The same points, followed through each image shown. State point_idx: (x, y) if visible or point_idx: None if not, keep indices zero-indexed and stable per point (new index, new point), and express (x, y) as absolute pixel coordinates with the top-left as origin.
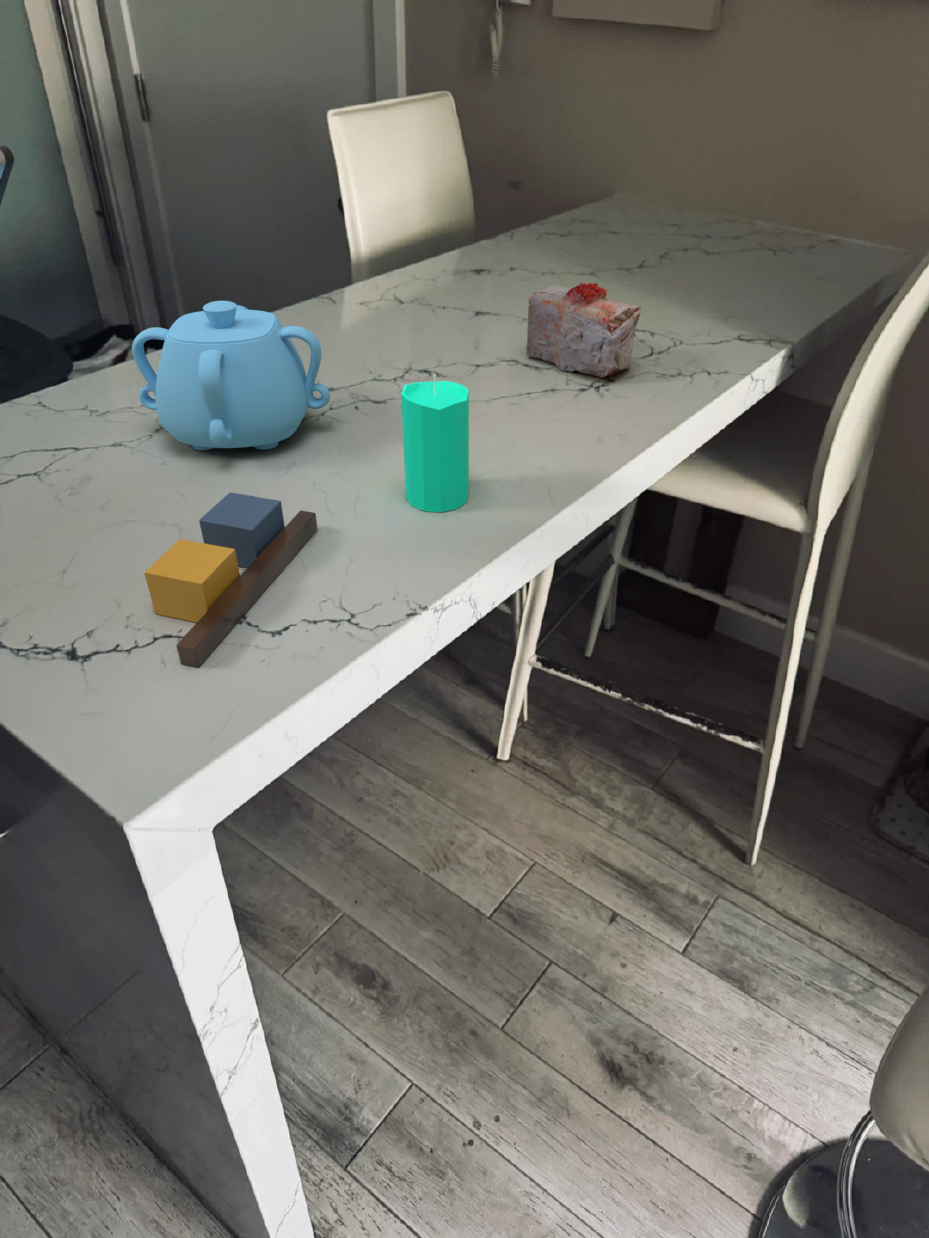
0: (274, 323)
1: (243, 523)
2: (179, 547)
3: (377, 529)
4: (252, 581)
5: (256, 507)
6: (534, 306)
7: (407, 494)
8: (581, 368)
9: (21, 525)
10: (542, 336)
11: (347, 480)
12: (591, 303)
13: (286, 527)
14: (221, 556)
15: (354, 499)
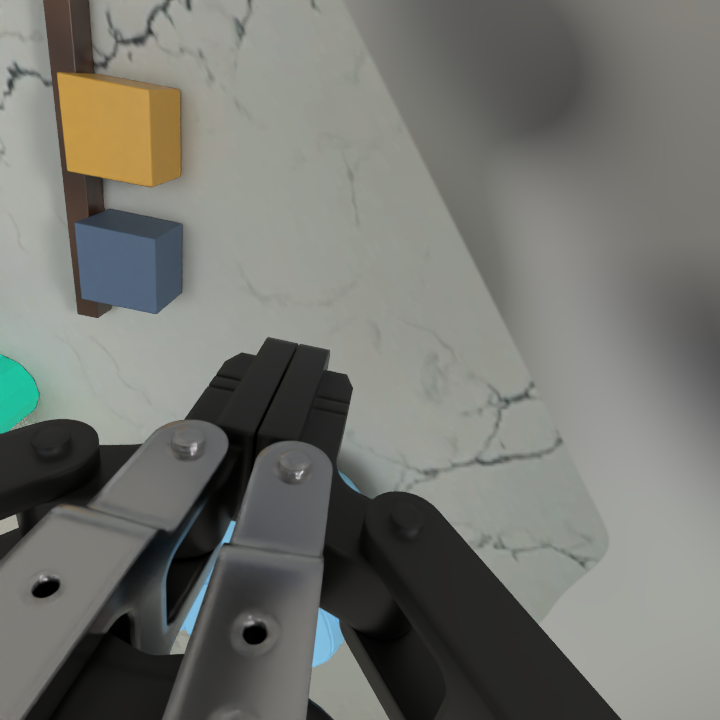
0: (189, 634)
1: (93, 236)
2: (138, 163)
3: (29, 313)
4: (61, 145)
5: (101, 279)
6: None
7: (22, 378)
8: None
9: (465, 278)
10: None
11: (117, 411)
12: None
13: None
14: (71, 148)
15: (87, 373)
